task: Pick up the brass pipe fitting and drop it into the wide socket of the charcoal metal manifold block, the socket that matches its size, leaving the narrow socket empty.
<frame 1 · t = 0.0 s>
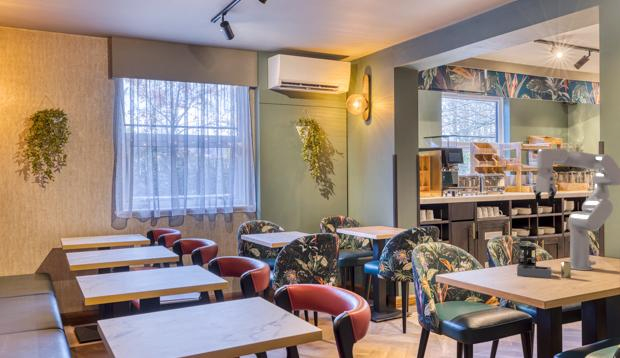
hand: (544, 203, 281), 37 cm above the table, tool pointing down, fingers open, 9 cm apart
manifold block: (533, 275, 268), on the table
brass fitting: (565, 277, 262), on the table
french press: (527, 268, 287), on the table
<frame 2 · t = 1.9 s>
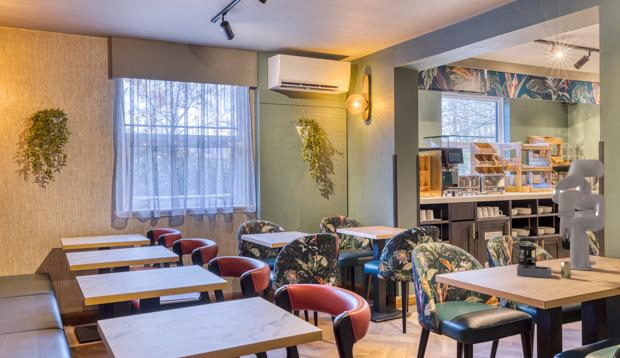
hand: (565, 248, 261), 15 cm above the table, tool pointing down, fingers open, 9 cm apart
nothing on the table moved.
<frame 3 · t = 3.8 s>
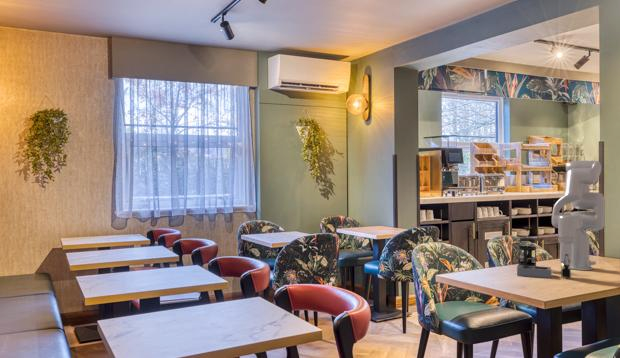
hand: (565, 275, 262), 1 cm above the table, tool pointing down, fingers closed on brass fitting, 4 cm apart
brass fitting: (565, 277, 262), on the table, touching gripper
everything else where it was.
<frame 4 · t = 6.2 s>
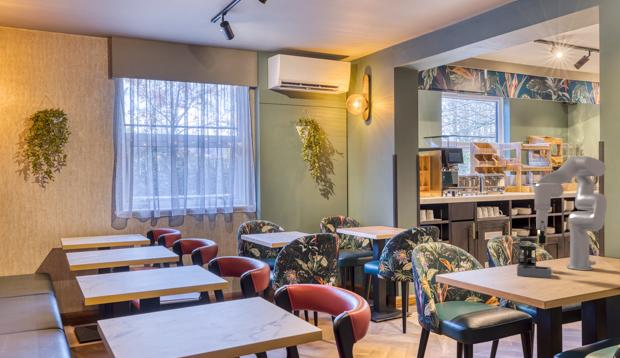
hand: (542, 242, 267), 17 cm above the table, tool pointing down, fingers closed on brass fitting, 4 cm apart
brass fitting: (542, 244, 267), point 16 cm above the table, touching gripper
everything else where it was.
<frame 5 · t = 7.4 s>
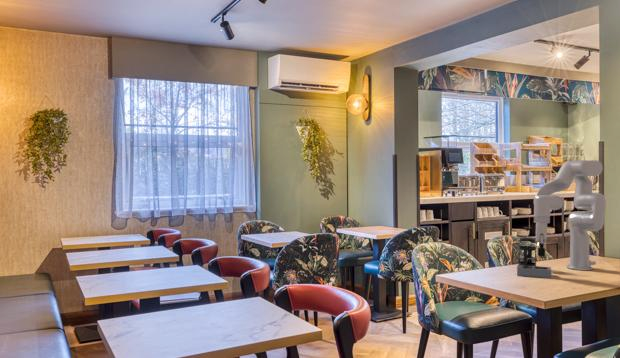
hand: (541, 254, 267), 11 cm above the table, tool pointing down, fingers closed on brass fitting, 4 cm apart
brass fitting: (541, 257, 267), point 10 cm above the table, touching gripper
everything else where it was.
when the fingers open (6 cm above the table, at t = 8.6 s): brass fitting drops 5 cm, resting in manifold block.
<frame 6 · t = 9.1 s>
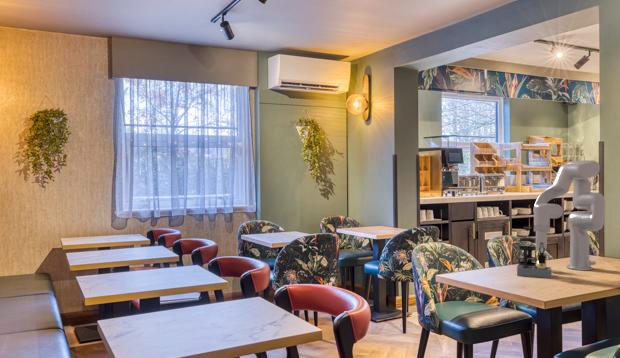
hand: (541, 261, 267), 7 cm above the table, tool pointing down, fingers open, 9 cm apart
brass fitting: (541, 275, 267), resting in manifold block
everything else where it was.
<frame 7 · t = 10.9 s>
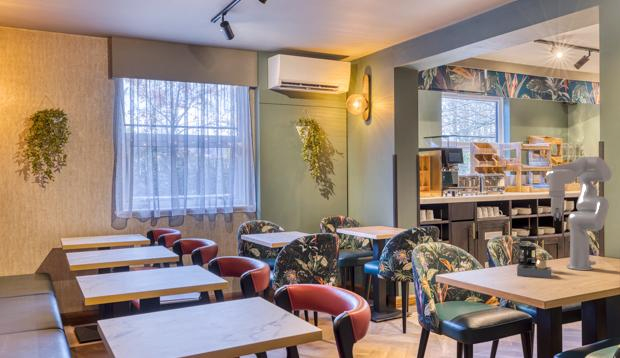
hand: (557, 227, 269), 25 cm above the table, tool pointing down, fingers open, 9 cm apart
nothing on the table moved.
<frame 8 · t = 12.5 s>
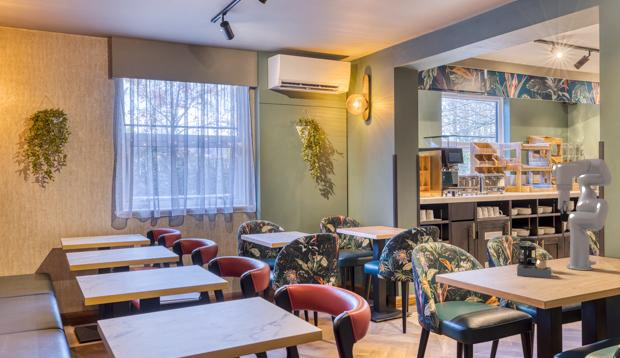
hand: (564, 220, 270), 28 cm above the table, tool pointing down, fingers open, 9 cm apart
nothing on the table moved.
at the end: brass fitting 0.1 cm from the target spot on the manifold block, point 0.0 cm above the manifold block's base; brass fitting tilted 0°; the gripper is holding nothing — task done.
